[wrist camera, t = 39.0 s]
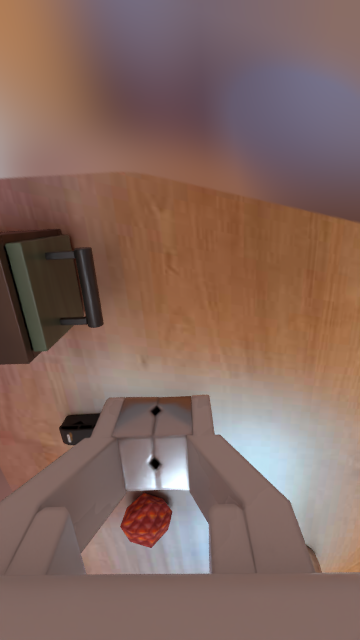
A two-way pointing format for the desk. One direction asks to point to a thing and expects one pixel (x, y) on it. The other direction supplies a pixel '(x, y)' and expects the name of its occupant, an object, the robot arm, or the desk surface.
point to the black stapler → (77, 428)
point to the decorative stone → (146, 520)
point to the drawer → (53, 287)
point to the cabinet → (15, 304)
